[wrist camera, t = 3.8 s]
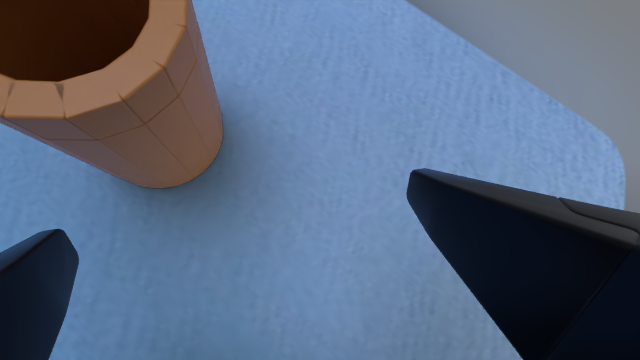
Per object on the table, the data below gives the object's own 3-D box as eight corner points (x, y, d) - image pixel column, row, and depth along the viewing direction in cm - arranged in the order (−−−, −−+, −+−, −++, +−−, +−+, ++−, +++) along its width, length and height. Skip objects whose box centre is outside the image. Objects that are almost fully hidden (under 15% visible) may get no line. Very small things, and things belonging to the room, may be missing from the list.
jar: (122, 207, 18) (-66, 160, 8) (77, 96, 19) (-155, -94, 8) (241, 161, 20) (225, 68, 9) (197, 60, 20) (134, -137, 10)
